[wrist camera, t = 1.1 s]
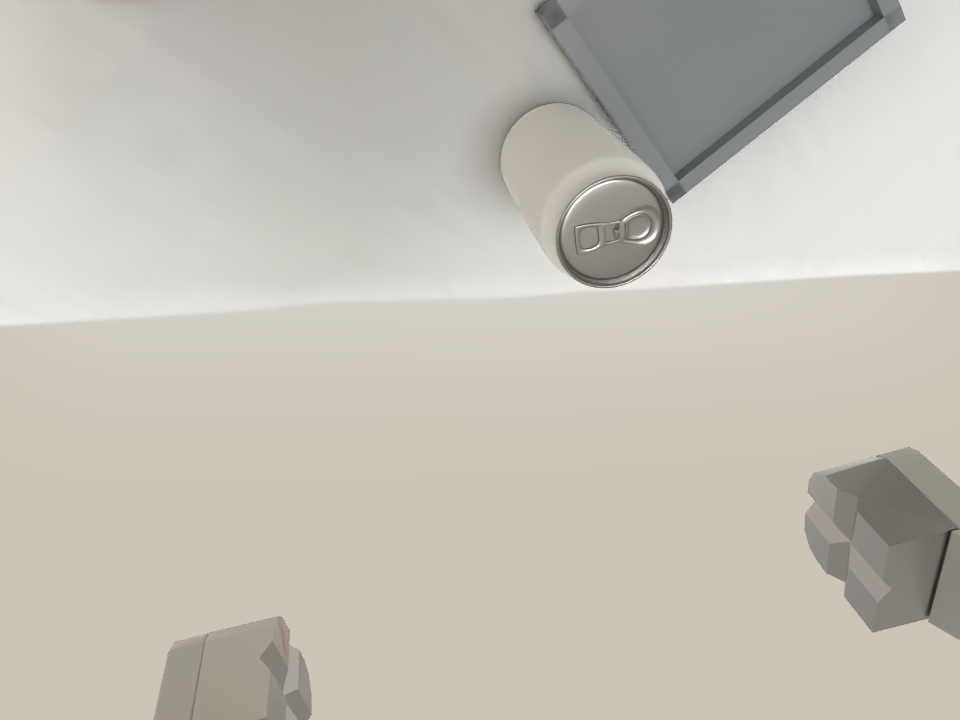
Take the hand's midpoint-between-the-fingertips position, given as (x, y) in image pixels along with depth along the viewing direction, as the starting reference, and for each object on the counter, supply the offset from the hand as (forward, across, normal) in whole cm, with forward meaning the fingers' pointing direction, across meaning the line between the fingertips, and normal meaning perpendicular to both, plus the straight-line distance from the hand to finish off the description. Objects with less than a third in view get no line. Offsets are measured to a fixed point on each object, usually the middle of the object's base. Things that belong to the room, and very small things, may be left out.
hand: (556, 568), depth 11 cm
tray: (+34, -19, -1) cm, 39 cm away
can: (+35, -9, +5) cm, 36 cm away
